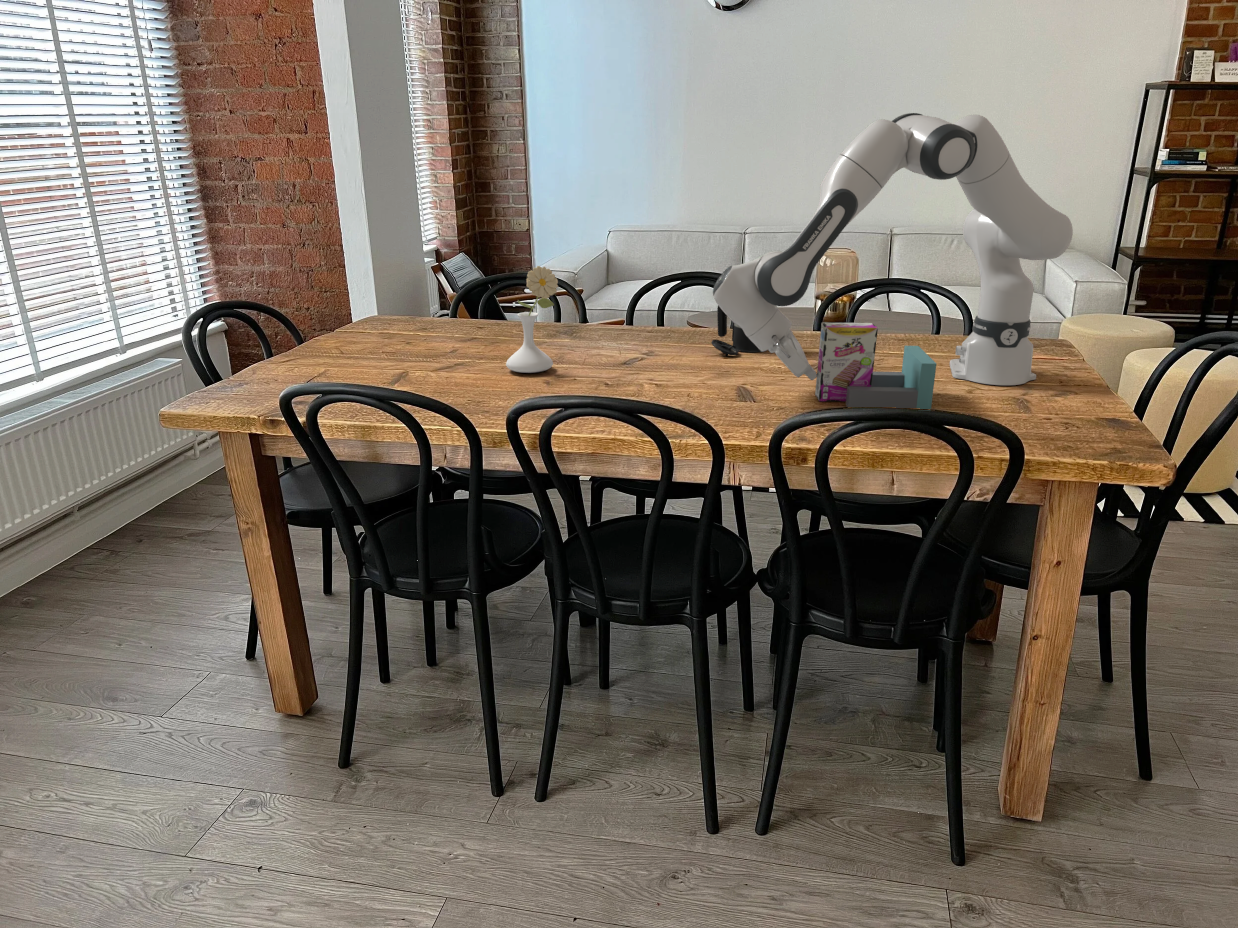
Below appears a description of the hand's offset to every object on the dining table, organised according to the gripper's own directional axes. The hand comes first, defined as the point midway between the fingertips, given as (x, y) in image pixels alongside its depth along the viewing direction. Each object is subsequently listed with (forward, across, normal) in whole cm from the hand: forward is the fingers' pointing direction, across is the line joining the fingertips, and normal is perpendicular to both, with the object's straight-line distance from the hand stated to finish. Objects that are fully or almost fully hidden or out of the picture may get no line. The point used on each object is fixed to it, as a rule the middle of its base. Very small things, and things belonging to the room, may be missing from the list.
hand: (814, 376), depth 199 cm
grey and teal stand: (+13, 0, -7) cm, 15 cm away
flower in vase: (-42, +18, +49) cm, 68 cm away
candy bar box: (+8, -1, -1) cm, 8 cm away
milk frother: (-6, +42, +14) cm, 45 cm away
